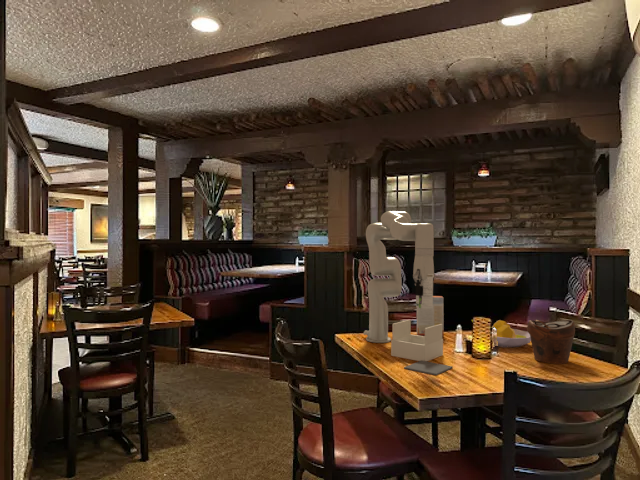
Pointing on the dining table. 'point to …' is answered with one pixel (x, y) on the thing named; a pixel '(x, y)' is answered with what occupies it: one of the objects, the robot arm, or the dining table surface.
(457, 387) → the dining table surface
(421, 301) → the syrup box
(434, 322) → the cracker box
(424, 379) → the dining table surface
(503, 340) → the fruit bowl
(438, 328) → the carton
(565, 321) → the brown flower pot
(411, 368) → the mat
